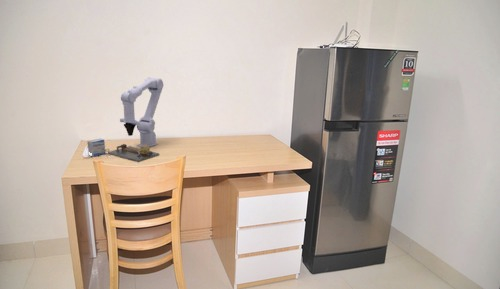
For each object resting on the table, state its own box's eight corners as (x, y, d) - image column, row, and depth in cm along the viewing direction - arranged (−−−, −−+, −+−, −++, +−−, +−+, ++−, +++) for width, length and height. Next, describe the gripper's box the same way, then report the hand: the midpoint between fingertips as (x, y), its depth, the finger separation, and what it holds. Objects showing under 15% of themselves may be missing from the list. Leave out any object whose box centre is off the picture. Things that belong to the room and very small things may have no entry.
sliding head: (146, 152, 190) (145, 144, 189) (149, 153, 189) (149, 145, 188) (136, 155, 185) (136, 147, 183) (140, 156, 183) (140, 148, 182)
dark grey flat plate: (129, 147, 203) (129, 145, 203) (159, 155, 192) (159, 153, 191) (107, 153, 190) (107, 152, 189) (138, 162, 178) (138, 160, 178)
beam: (124, 148, 198) (124, 144, 197) (152, 155, 187) (152, 150, 186) (116, 150, 193) (115, 146, 192) (144, 158, 182) (144, 153, 181)
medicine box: (93, 157, 183) (91, 142, 181) (88, 155, 185) (87, 140, 183) (105, 153, 190) (104, 139, 187) (100, 152, 192) (99, 138, 189)
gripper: (115, 112, 190) (116, 134, 194) (132, 115, 183) (133, 138, 187) (124, 110, 196) (126, 132, 200) (142, 113, 189) (143, 136, 193)
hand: (130, 135), depth 194 cm, fingers closed
